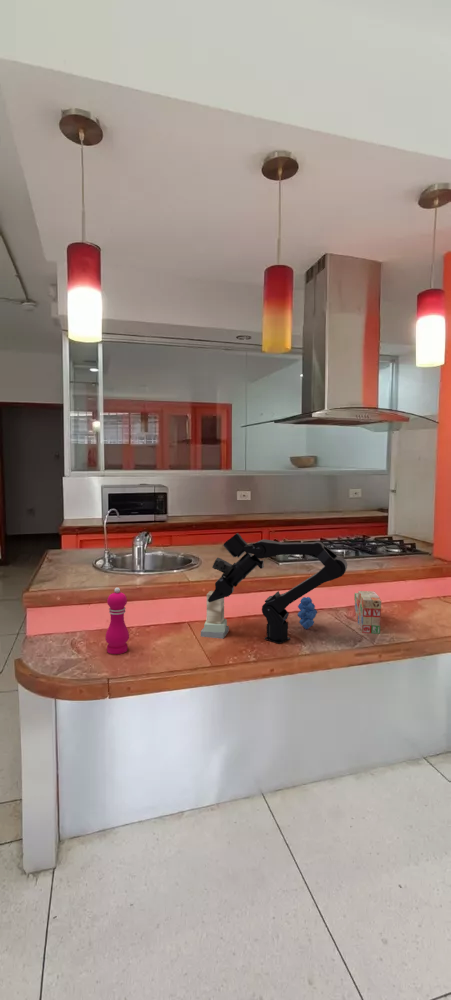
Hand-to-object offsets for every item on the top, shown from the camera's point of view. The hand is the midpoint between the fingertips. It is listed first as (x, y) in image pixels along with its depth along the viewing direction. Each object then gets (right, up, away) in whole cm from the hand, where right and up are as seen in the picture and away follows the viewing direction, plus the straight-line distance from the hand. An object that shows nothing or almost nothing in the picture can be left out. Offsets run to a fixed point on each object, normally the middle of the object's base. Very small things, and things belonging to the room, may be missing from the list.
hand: (211, 597), depth 162 cm
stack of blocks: (+58, -13, +13) cm, 61 cm away
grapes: (+35, -13, +7) cm, 38 cm away
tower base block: (+1, -13, 0) cm, 13 cm away
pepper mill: (-29, -13, -16) cm, 36 cm away
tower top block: (+2, -11, 0) cm, 11 cm away
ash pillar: (+2, -8, 0) cm, 8 cm away
